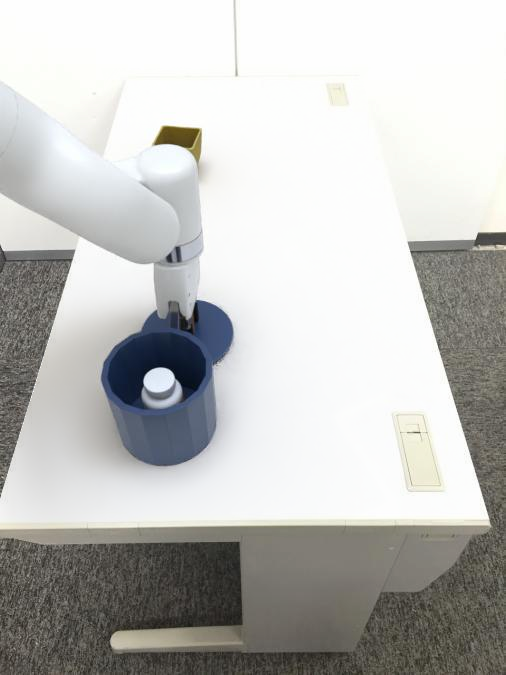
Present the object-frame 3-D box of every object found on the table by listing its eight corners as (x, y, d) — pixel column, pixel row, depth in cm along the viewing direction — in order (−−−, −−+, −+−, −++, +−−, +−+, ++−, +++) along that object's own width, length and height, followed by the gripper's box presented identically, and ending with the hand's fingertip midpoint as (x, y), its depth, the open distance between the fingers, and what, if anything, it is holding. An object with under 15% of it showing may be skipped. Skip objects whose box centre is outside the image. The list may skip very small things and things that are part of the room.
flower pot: (156, 184, 114) (150, 145, 108) (166, 162, 120) (162, 124, 113) (196, 188, 114) (193, 149, 107) (205, 165, 119) (202, 127, 112)
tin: (135, 481, 70) (118, 431, 60) (109, 402, 78) (89, 347, 68) (231, 443, 73) (229, 390, 64) (196, 371, 81) (189, 315, 72)
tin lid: (158, 386, 80) (153, 362, 75) (130, 320, 88) (124, 295, 84) (248, 354, 84) (248, 330, 79) (213, 294, 92) (211, 269, 88)
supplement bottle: (194, 415, 76) (188, 374, 68) (170, 443, 73) (162, 403, 65) (164, 398, 77) (156, 356, 70) (140, 425, 74) (128, 384, 67)
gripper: (160, 201, 77) (173, 292, 91) (132, 280, 66) (152, 370, 80) (211, 204, 76) (217, 295, 90) (192, 284, 65) (202, 374, 79)
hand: (186, 329), depth 85 cm, fingers open, 3 cm apart
